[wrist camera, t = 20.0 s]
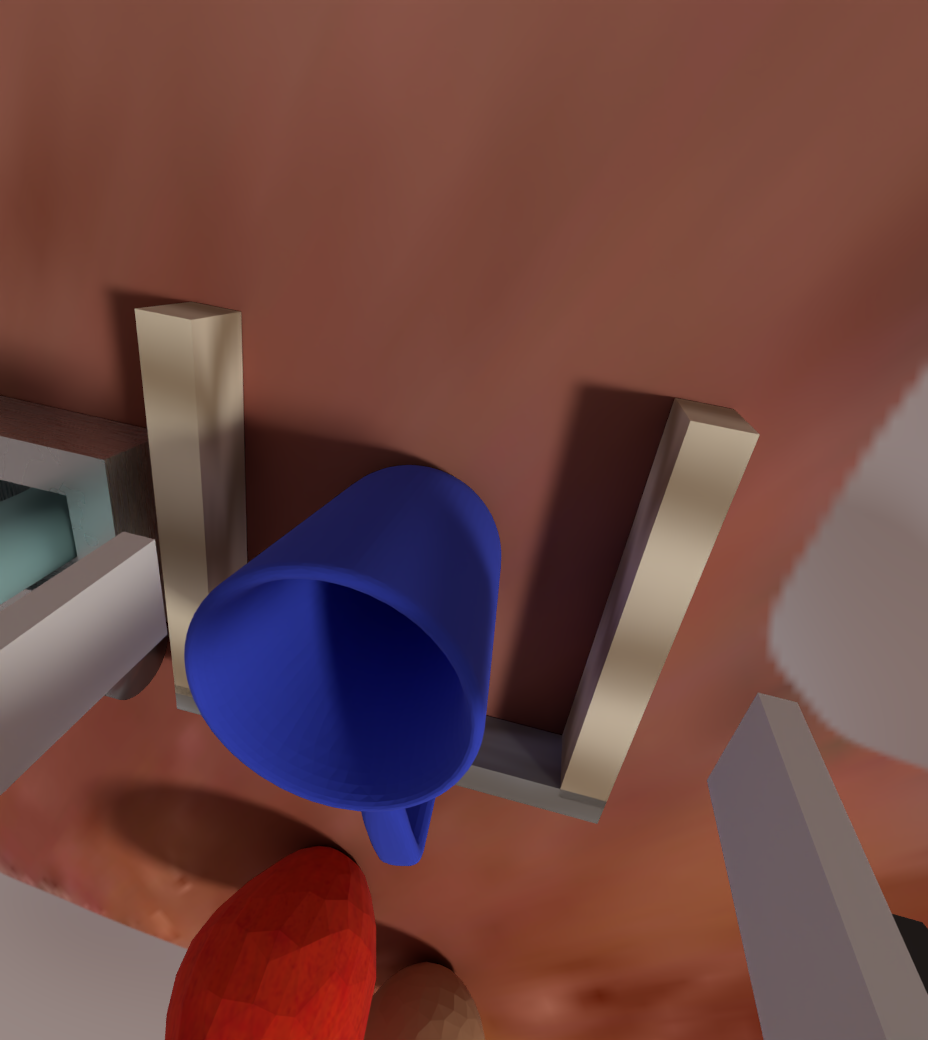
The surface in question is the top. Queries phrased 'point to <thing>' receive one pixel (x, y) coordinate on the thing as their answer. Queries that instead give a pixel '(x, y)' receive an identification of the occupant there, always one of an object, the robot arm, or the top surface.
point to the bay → (505, 746)
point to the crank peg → (33, 539)
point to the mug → (359, 652)
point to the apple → (282, 957)
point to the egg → (423, 1007)
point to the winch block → (85, 489)
